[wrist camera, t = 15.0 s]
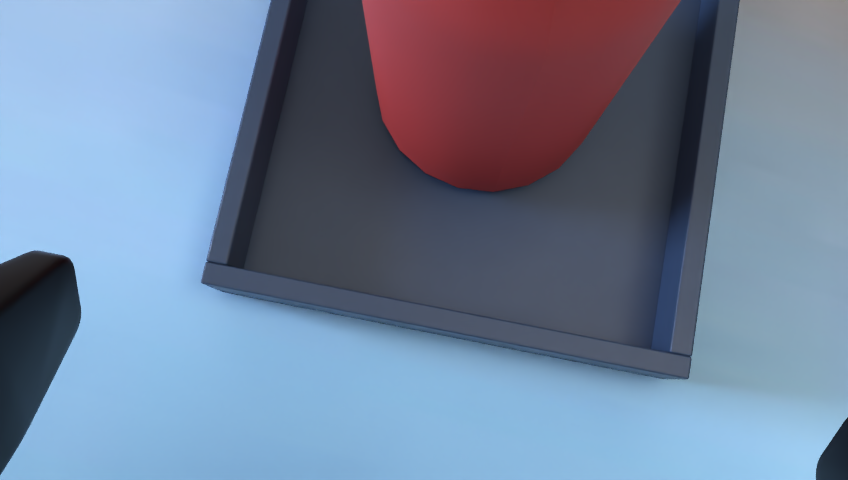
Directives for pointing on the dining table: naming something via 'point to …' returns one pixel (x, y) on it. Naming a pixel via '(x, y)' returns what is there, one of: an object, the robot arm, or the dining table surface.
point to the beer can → (502, 79)
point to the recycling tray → (479, 203)
